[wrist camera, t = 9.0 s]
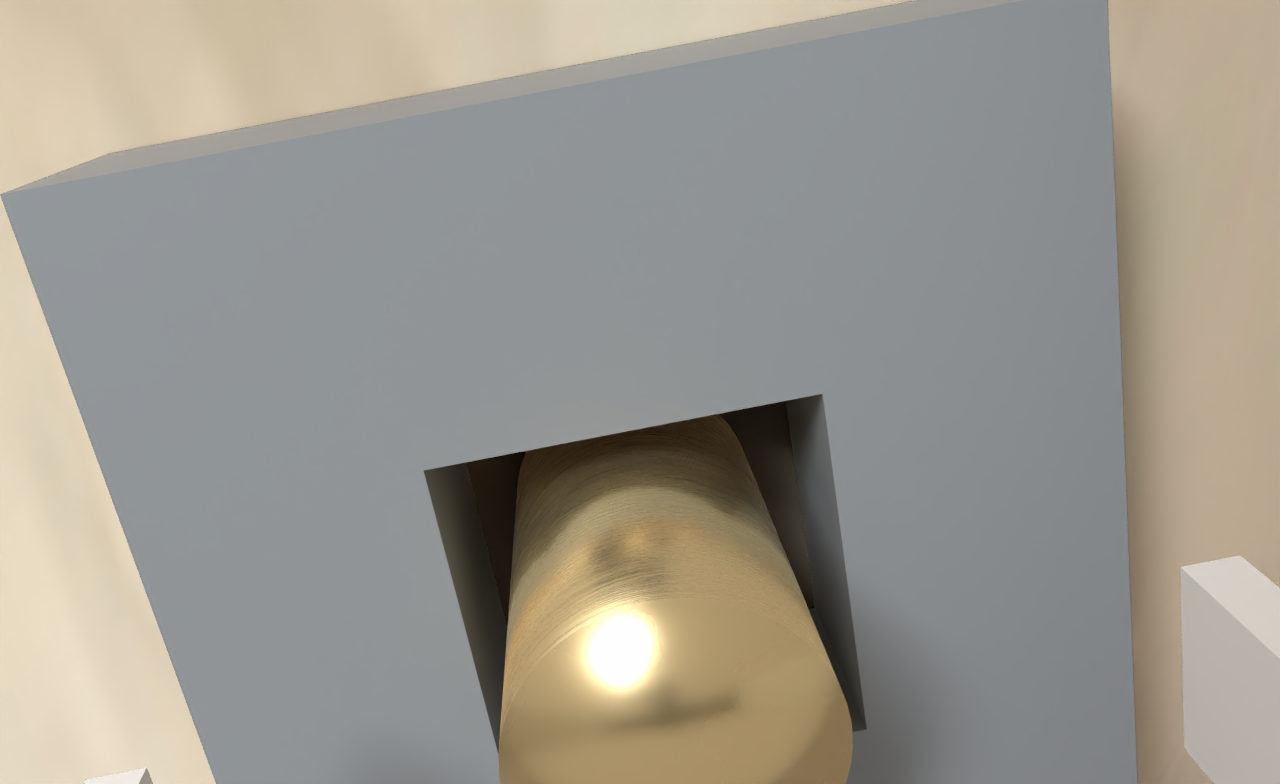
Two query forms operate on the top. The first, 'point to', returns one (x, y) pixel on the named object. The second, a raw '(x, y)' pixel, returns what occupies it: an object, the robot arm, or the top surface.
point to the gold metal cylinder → (660, 623)
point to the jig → (626, 377)
